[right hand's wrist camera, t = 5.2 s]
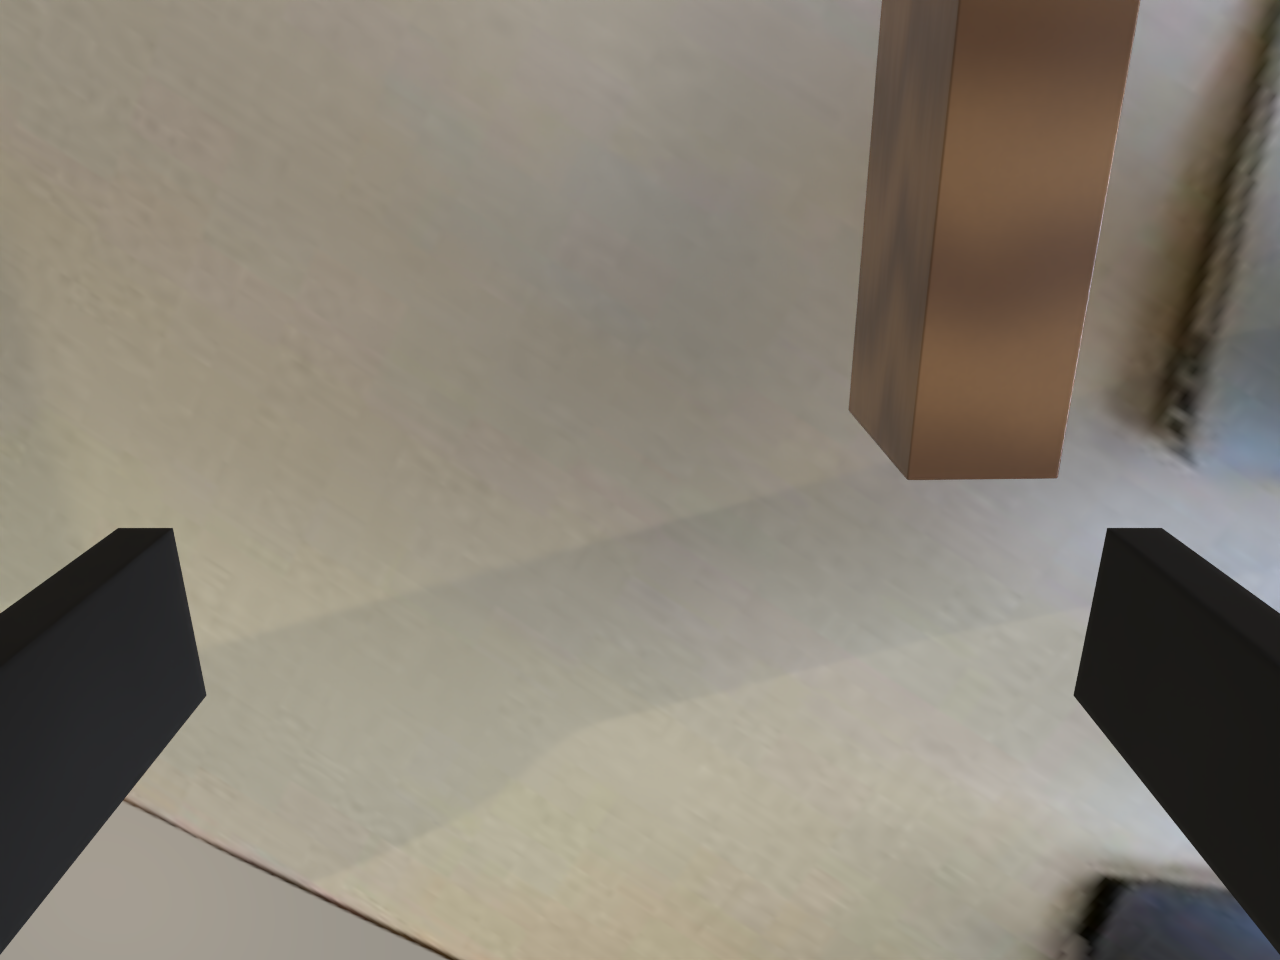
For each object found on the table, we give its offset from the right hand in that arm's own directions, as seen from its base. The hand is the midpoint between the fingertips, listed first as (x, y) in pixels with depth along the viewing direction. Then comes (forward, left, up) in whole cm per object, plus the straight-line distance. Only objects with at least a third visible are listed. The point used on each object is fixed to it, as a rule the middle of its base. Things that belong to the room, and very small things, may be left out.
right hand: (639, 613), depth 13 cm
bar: (+2, +14, -23) cm, 27 cm away
